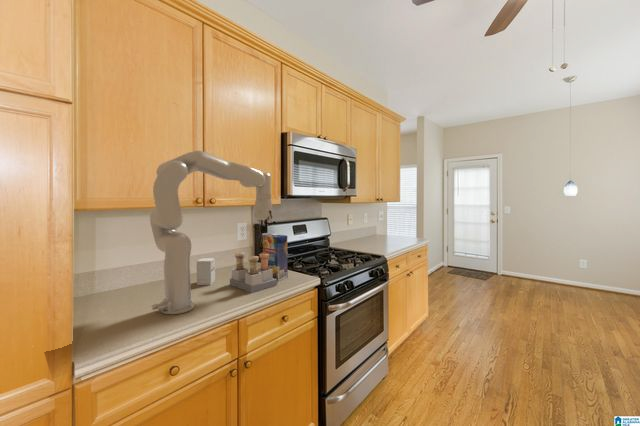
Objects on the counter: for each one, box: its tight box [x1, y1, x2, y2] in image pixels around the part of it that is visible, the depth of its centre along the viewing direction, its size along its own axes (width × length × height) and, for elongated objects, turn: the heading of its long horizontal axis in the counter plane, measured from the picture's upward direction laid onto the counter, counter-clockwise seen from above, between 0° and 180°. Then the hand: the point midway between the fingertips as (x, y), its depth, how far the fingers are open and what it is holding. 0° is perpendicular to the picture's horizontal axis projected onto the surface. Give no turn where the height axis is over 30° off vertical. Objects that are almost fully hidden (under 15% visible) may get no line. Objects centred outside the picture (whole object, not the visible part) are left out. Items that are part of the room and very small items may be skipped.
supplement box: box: [196, 257, 216, 286], centre depth 151 cm, size 7×7×13 cm
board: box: [229, 267, 278, 294], centre depth 149 cm, size 16×19×8 cm
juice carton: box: [262, 233, 289, 282], centre depth 161 cm, size 12×8×24 cm, turn 51°
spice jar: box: [248, 255, 260, 275], centre depth 141 cm, size 5×5×9 cm
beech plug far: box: [234, 252, 246, 271], centre depth 149 cm, size 5×5×9 cm
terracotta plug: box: [258, 252, 269, 271], centre depth 149 cm, size 5×5×9 cm
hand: (264, 233), depth 148 cm, fingers closed
